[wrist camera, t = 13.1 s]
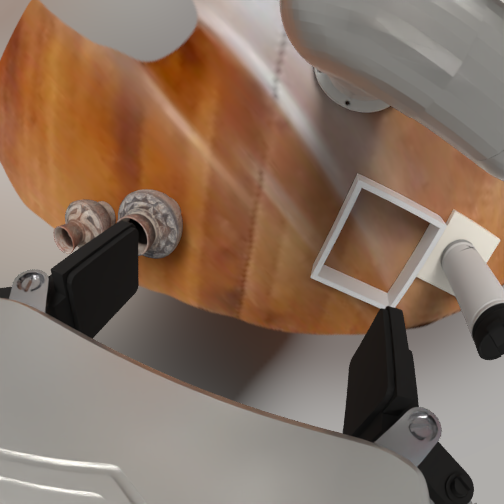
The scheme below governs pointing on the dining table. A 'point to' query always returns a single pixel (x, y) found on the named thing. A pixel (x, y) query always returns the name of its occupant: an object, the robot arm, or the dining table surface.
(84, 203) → the pottery
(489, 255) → the pad
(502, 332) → the travel mug
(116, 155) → the dining table surface
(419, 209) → the bin
